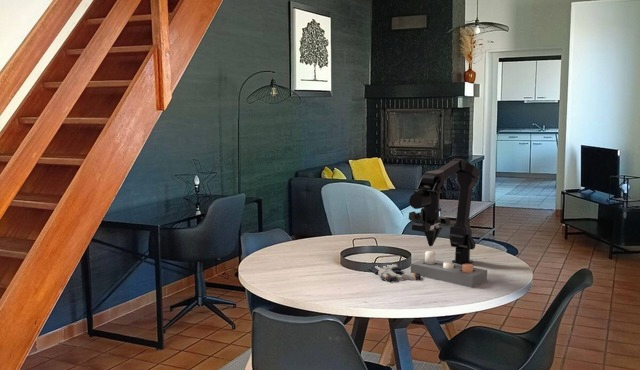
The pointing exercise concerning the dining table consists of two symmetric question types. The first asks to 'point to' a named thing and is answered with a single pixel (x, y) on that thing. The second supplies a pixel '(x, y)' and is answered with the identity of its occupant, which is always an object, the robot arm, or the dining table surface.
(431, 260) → the plug white near
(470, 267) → the plug terracotta
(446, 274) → the socket board
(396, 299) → the dining table surface
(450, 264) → the plug white mid
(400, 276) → the toy gun
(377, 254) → the dining table surface
